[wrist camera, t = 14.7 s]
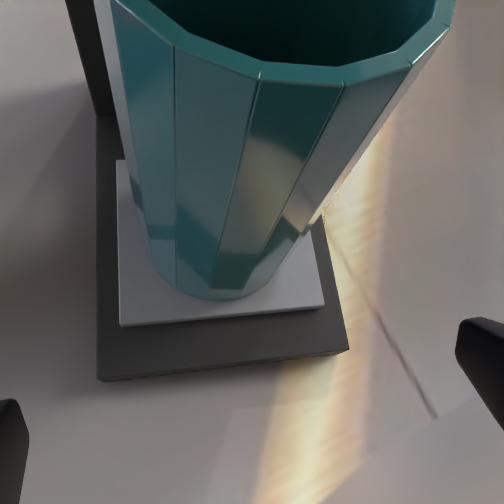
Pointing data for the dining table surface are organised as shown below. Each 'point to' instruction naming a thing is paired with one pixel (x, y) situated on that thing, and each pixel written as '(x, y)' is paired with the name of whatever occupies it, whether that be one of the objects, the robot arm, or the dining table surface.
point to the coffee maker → (174, 301)
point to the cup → (251, 120)
